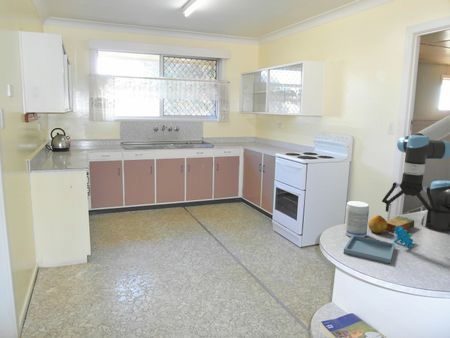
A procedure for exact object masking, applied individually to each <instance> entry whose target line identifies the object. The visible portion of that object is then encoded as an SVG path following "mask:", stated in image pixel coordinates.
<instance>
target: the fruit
mask: <svg viewBox="0 0 450 338" xmlns="http://www.w3.org/2000/svg"><path fill="white" fill-rule="evenodd" d="M386 221H387V219H385V218H384V217H383V216H382V215H375V216H372V217H371V218H370V219H368V225H367V227H368V228H369V231H371V232H373V233H376V234H382V233H384V232H386V229H387V222H386Z"/></svg>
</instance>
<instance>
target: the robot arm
mask: <svg viewBox="0 0 450 338" xmlns="http://www.w3.org/2000/svg"><path fill="white" fill-rule="evenodd" d="M449 135H450V114H448V115H447V116H446V117H443V118H441V119H439V120H438V121H437V122H434V123H433V124H431V125H428V127H425V128H424V129H421V130H420V131H418V132H416V133H415V134H413V135H412V134H411V135H403V136H401V137H400V138H399V139H398V140H397V144H396V146H397V147H396V148H397V149H398V151H400V152H401V153H405V155H404V156H405V157H404V162H403V163H404V164H403V170H402V171H403V172H402V177H401V183H399V182H397V181H394V182H392V183H393V184H392V186H391V188H390V190H389V191H388V192H387V193H386V194H385V196H384V197H383V199H382V200H381V202H382V203H384V204H385V212H386V213H387V217H386V221H387V220H389V219H391V212H392V211H391V210H392V203H393V202H395V201H396V200H397V199H398V198H400V197H401V196H403V195H406V196H411V197H414V196H415V197H417V198H418V200H420V202H421V204H422V205H423V207H425V210H424V211H425V213H424V215H423V216H422V218H421V222H420V225H421V226H422V227H424V228H425V229H429V230H432V231H436V232H441V233H442V232H443V233H450V180H433V181H432V182H431V184H430V186H423V181H424V175H423V174H425V170H426V169H425V167H426V161H427V160H430V159H432V160H443V159H447V158H449V157H450V142H449V141H447V140H441V139H443V138H445V137H447V136H449ZM398 187H400V189H401V190H400V191H398V192H397V193H396V194H395V195H393V196H392V197H391V198H389V197H390V196H391V194H392V193H393V192H394V191H395V189H397V188H398ZM422 191H424V193H426V196H427V197H428V200H427V201H428V202H427V201H426V199H425V198H424V196H423V195H422V193H421V192H422Z"/></svg>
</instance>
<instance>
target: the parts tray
mask: <svg viewBox="0 0 450 338" xmlns="http://www.w3.org/2000/svg"><path fill="white" fill-rule="evenodd" d="M395 247H396V243H394V242H388V241H383V240H378V239H373V238H368V237H360V236H355V235H352V237H350V238H349V240H348V242H347V243H346V245H345V247H344V249H343V254H344V255H349V256H353V257H357V258H362V259H365V260H370V261H374V262H379V263H382V264H383V263H384V264H387V265H390V264H391V261H392V258H393V255H394V252H395Z"/></svg>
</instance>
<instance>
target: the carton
mask: <svg viewBox="0 0 450 338" xmlns="http://www.w3.org/2000/svg"><path fill="white" fill-rule="evenodd" d="M386 222H387V229H386V230H385V232H386V231H387V232H389V233H393V234H395V233H394V231H396V230H395V229H394V228H396V226H400V227H401V226H402V227H403V228H404V229H403V231H404V230H407V231H409V230H411V228H412V229H414V228H415V219H412V218H408V217H403V216H399V215H397V216H395V217H393V218H390V219H389V220H387V219H386Z"/></svg>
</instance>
